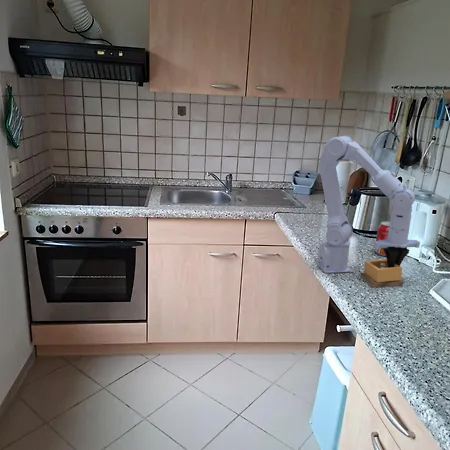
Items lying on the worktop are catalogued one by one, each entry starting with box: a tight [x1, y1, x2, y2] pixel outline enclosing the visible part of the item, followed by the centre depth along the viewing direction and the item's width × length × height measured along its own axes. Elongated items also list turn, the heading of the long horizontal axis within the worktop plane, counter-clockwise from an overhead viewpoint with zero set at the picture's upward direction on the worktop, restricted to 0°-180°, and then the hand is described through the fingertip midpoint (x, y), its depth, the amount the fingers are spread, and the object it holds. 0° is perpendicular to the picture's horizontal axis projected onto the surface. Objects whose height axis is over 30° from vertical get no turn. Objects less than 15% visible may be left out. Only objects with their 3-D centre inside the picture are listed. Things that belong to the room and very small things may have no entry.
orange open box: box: [363, 258, 403, 282], centre depth 131 cm, size 8×8×4 cm
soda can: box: [374, 220, 390, 257], centre depth 156 cm, size 7×7×12 cm
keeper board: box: [360, 263, 404, 288], centre depth 131 cm, size 10×8×6 cm
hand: (392, 269), depth 132 cm, fingers closed on orange open box
